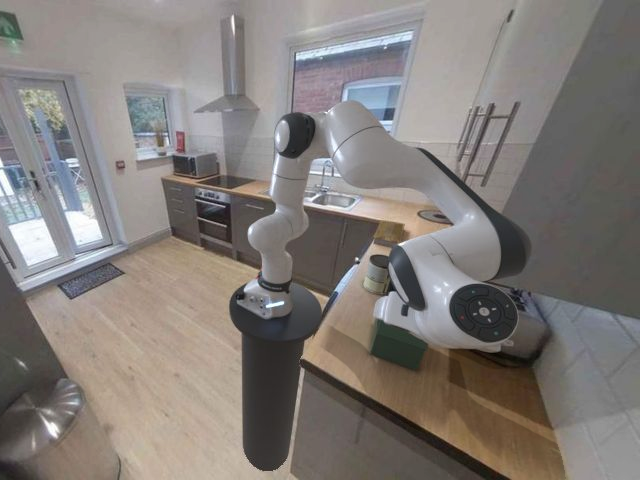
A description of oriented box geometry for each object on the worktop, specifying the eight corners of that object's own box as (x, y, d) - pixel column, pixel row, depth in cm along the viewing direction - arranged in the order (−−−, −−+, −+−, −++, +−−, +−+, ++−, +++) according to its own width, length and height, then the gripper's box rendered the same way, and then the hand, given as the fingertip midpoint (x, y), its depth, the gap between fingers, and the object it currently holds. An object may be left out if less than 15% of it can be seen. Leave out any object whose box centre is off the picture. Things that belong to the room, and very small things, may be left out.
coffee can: (363, 278, 119) (369, 252, 113) (387, 283, 115) (396, 256, 109) (362, 291, 111) (369, 263, 104) (389, 297, 107) (398, 268, 101)
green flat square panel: (388, 291, 72) (388, 293, 72) (442, 305, 67) (443, 307, 66) (376, 332, 78) (376, 333, 77) (425, 348, 72) (426, 350, 71)
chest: (373, 326, 92) (378, 307, 88) (413, 339, 86) (421, 319, 83) (370, 354, 81) (376, 333, 77) (416, 371, 76) (425, 350, 72)
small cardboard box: (379, 224, 178) (381, 216, 175) (403, 228, 171) (406, 220, 168) (371, 243, 152) (373, 233, 149) (399, 249, 145) (402, 239, 142)
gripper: (521, 324, 42) (481, 329, 53) (381, 288, 50) (374, 299, 62) (518, 364, 40) (478, 359, 52) (375, 319, 49) (368, 324, 61)
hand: (420, 326), depth 57 cm, fingers closed
